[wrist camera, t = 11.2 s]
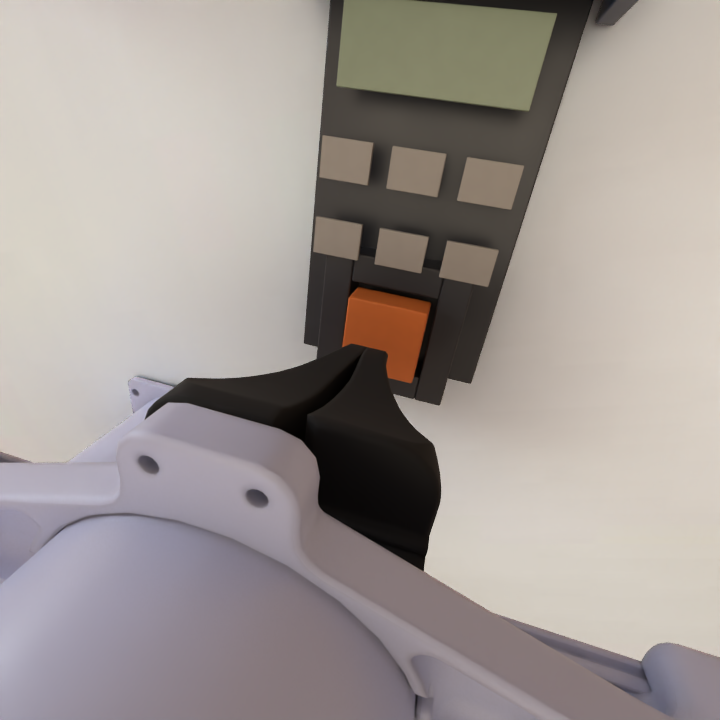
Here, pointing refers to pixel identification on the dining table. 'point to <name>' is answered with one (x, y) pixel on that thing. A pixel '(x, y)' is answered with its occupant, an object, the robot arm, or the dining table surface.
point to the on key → (388, 328)
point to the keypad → (438, 82)
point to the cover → (613, 10)
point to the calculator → (432, 199)
